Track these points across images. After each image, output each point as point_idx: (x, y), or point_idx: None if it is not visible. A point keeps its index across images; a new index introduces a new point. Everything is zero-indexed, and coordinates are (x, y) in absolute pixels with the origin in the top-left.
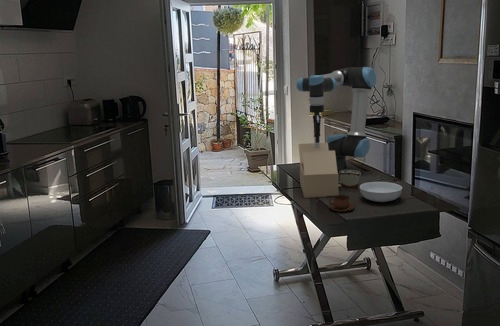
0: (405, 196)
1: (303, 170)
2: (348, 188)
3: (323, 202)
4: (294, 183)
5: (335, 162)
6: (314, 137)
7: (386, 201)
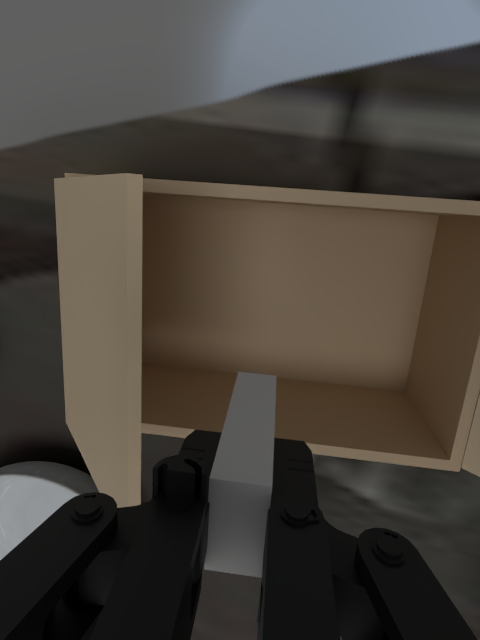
0: None
1: (473, 235)
2: None
3: (44, 272)
4: (462, 166)
5: (88, 464)
6: (258, 467)
7: (4, 523)
